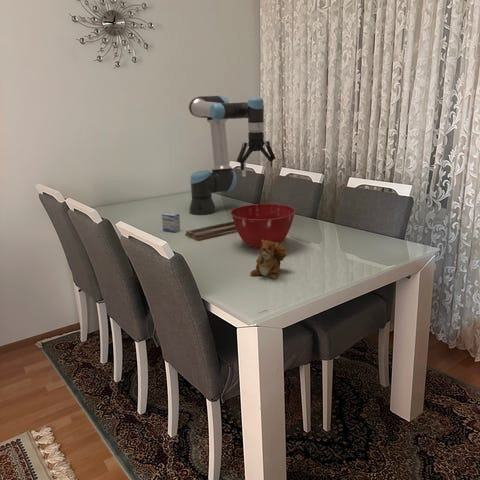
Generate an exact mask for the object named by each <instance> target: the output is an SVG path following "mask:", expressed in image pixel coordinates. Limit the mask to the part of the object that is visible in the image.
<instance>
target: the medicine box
mask: <svg viewBox="0 0 480 480" xmlns="http://www.w3.org/2000/svg"><path fill="white" fill-rule="evenodd" d="M180 219H181V218H180V214H179V213H170V212H165V213H162V214H161V221H162V222H161V223H162V231H163V232H169V233H178V232H180V231H181V221H180Z"/></svg>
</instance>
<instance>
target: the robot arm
mask: <svg viewBox="0 0 480 480" xmlns="http://www.w3.org/2000/svg"><path fill="white" fill-rule="evenodd" d="M264 108H265V105H264V99H263V98H262V97H260V98H259V97H253V98H248V99H247V102H245V101H243V102H229V100H228V98H227V97H226V96H224V95H209V96H208V95H205V96H201V95H200V96H197V97H194V98H193V99H191V101H190V102H189V104H188V110H189V112H190V114H191V115H192V116H193V117H196V118H199V119H200V118H201V119H202V118H203V119H206V121H207V122H208V123H209V125H210V133H211V134H210V135H211V146H212V157H213V158H212V159H213V167H212V169H211V170H209V169H207V170H199V171H195V172H193V173H192V174H191V175H190V192H191V193H190V194H191V201H190V205H189V211H188V213H190V214H191V215H199V216H200V215H210V214H213V213H215V212H216V205H215V203H214V201H213V196H212V195H213V193H223V192H230V191H233V190H234V189H235V188H236V185H237V179H238V177H237V174H236V172H235V170H233V168H232V166H231V165H230V163H229V152H228V151H229V150H228V140H227V129H226V122H228V120H236V119H248V121H247V123H248V124H247V125H248V126H247V129H248V134H247V135H248V142H246V141H245V142H244V141H243V142H242V144H241V148H240V151H239V153H238V156H237V158H236V162H237V163H239V164H240V165H239V167H240V170H241V172H242V174H241V176H242V177H243V178H247V167H246V165H247V163H245V162H246V161H247V159H248V158H249V157H250V155H251V154H252V153H253V152H261V153H262V154H263V155H264V157H265V158H266V159H267V160H266V174H267V175H271V173H272V172H271V169H272V168H273V167H272V166H273V161H274V160H276V156H275V153H274V151H273V149H272V147H271V142H270V141H269V140H265V134H264V133H265V132H264V131H265V130H264V129H265V124H264V123H265V120H264V119H265V118H264V117H265V116H264V115H265V114H264V113H265V109H264ZM264 146H265V147H264ZM247 147H248V149H247ZM265 148H266V149H265ZM266 150H267V151H266Z"/></svg>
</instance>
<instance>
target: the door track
mask: <svg viewBox="0 0 480 480" xmlns="http://www.w3.org/2000/svg"><path fill="white" fill-rule="evenodd" d="M235 233H238V231H237V229H236V227H235V224H234V221H233V220H232V221H228V222H222V223H219V224H213V225H208V226H204V227H200V228H199V227H198V228H194V229H191V230H186V231H185V234H184V236H186V237H188V238H191V239H192V240H195V241H197V242H201V241H204V240H209V239H212V238H214V239H215V238H217V237H222V236H226V235H231V234H235Z"/></svg>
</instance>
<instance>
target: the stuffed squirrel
mask: <svg viewBox="0 0 480 480" xmlns="http://www.w3.org/2000/svg"><path fill="white" fill-rule="evenodd" d="M257 253H258V255H260V256H259V257H257V258H256V260H255V262H256V265H255V269H253V270H252V271H250V273H249V274H250V276H252V277H253V276H260V275H261V276H264V277H269V278H270V279H271V280H276V279H277V278H278V277H279V275H280V267H281V262H282V261H284V259H285V258H286V257H288V255H287V254H288V252H287V249H286V248H285V247H284V246H283V245H280V244H278V242H277V243H273V242H272V241H267V240H266V241H264V240H262V247H261V249H260V248H259V250H258V251H257ZM260 253H261V254H260Z"/></svg>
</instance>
